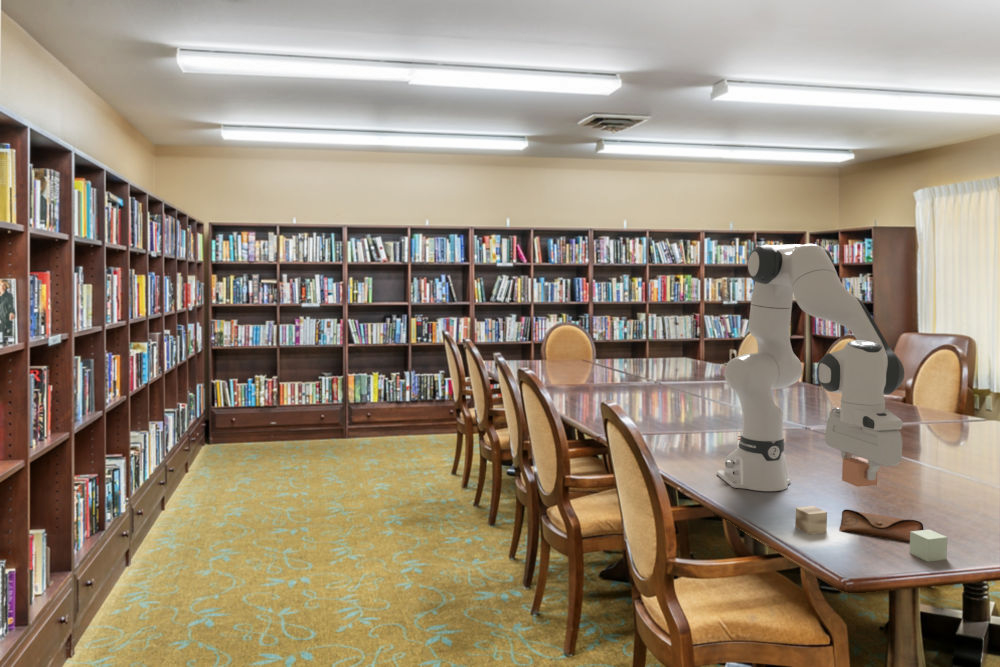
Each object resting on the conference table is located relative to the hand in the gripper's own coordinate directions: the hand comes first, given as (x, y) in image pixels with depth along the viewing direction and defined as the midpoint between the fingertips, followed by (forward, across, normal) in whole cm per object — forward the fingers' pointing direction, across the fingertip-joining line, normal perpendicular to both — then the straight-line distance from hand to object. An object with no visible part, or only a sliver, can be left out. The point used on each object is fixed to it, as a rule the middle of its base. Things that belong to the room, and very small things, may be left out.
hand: (859, 475), depth 165 cm
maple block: (+17, -13, -2) cm, 22 cm away
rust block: (+2, 0, 0) cm, 2 cm away
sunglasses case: (+18, -7, +13) cm, 23 cm away
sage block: (+17, +8, +12) cm, 22 cm away
